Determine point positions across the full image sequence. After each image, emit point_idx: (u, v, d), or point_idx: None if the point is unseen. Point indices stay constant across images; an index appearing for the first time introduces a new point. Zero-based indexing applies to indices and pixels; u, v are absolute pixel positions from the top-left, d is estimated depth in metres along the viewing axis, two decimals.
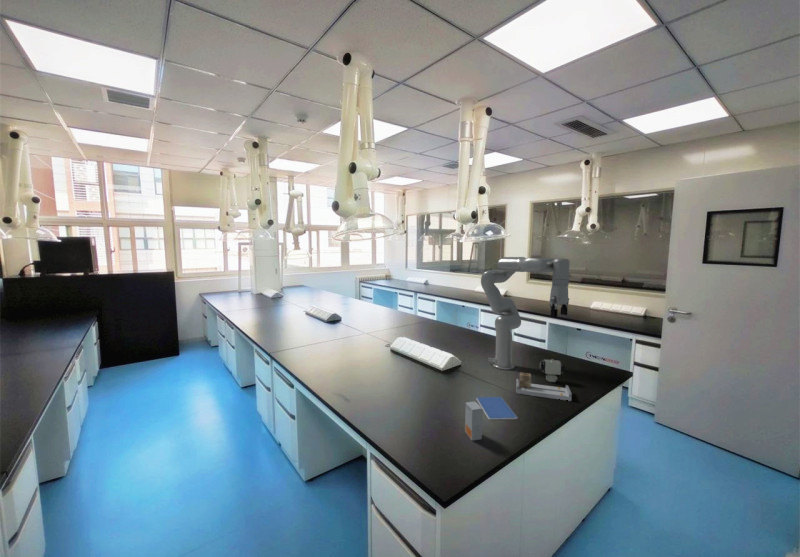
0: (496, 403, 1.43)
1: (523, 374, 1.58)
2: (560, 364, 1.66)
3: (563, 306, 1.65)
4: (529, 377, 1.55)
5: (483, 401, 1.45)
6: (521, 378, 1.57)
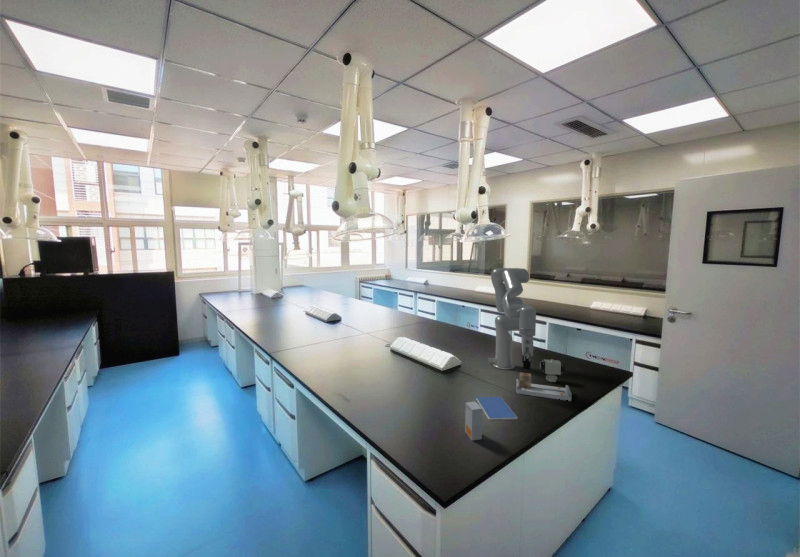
0: (496, 403, 1.43)
1: (523, 374, 1.58)
2: (560, 364, 1.66)
3: None
4: (529, 377, 1.55)
5: (483, 401, 1.45)
6: (521, 378, 1.57)
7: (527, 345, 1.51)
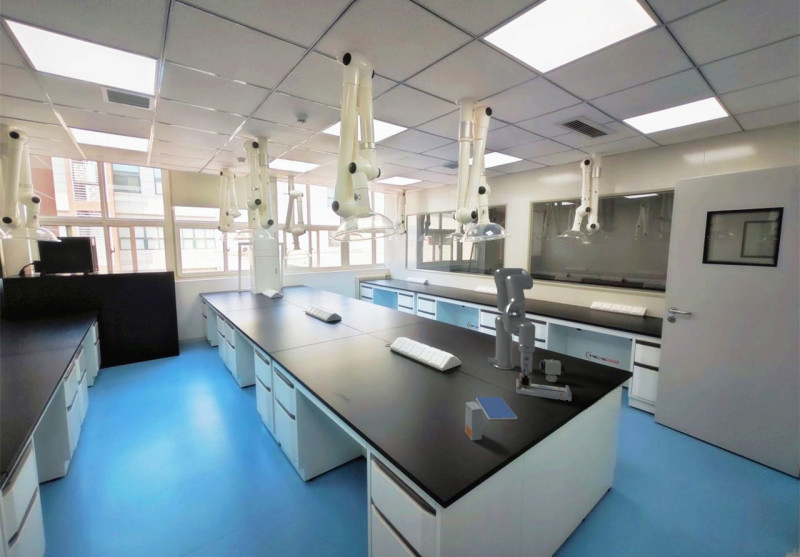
0: (496, 403, 1.43)
1: None
2: (560, 364, 1.66)
3: None
4: (529, 377, 1.55)
5: (483, 401, 1.45)
6: (521, 378, 1.57)
7: (526, 362, 1.52)
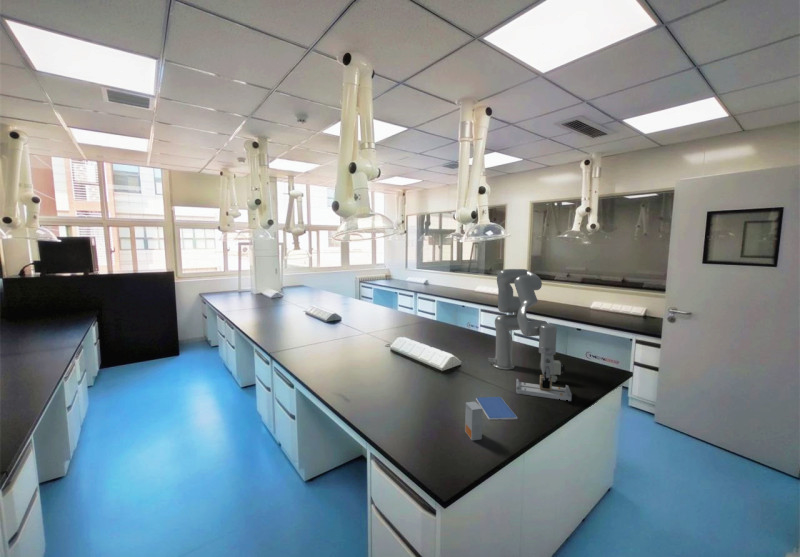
0: (496, 403, 1.43)
1: None
2: (560, 364, 1.66)
3: None
4: (550, 380, 1.52)
5: (483, 401, 1.45)
6: (542, 381, 1.54)
7: (547, 364, 1.49)
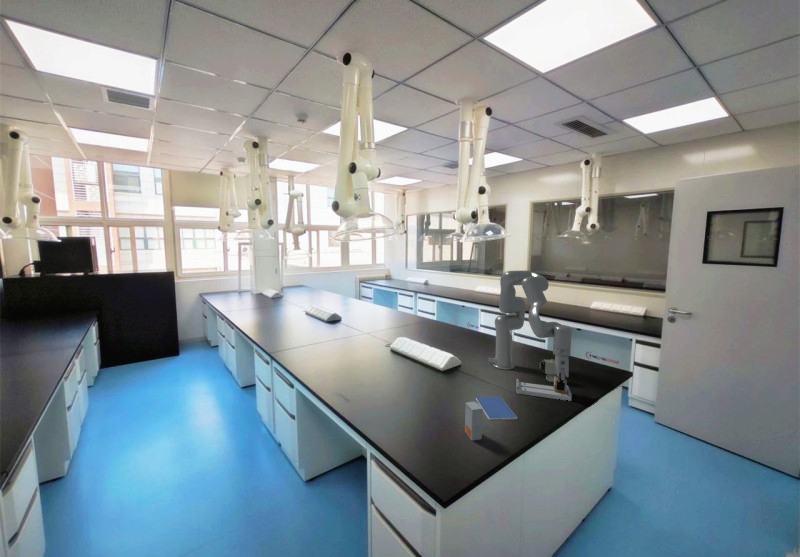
0: (496, 403, 1.43)
1: None
2: None
3: None
4: (565, 381, 1.50)
5: (483, 401, 1.45)
6: (556, 382, 1.51)
7: (562, 366, 1.47)
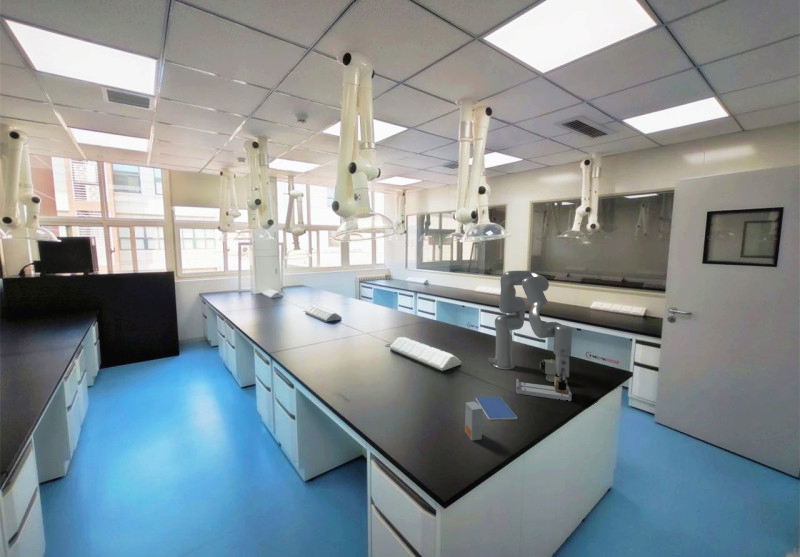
0: (495, 403, 1.43)
1: (558, 378, 1.52)
2: None
3: None
4: None
5: (482, 401, 1.45)
6: (557, 383, 1.51)
7: (563, 366, 1.47)
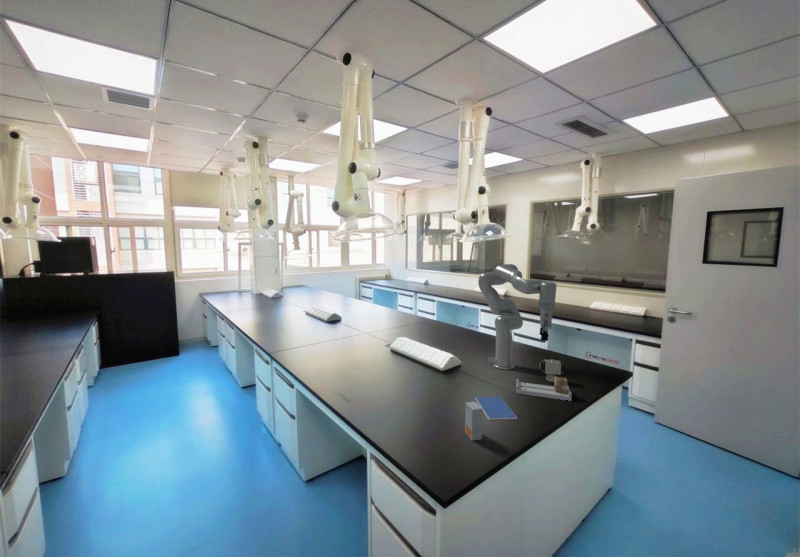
0: (495, 403, 1.43)
1: (558, 378, 1.52)
2: (560, 364, 1.66)
3: None
4: (565, 382, 1.50)
5: (482, 401, 1.45)
6: (557, 383, 1.51)
7: (546, 318, 1.59)
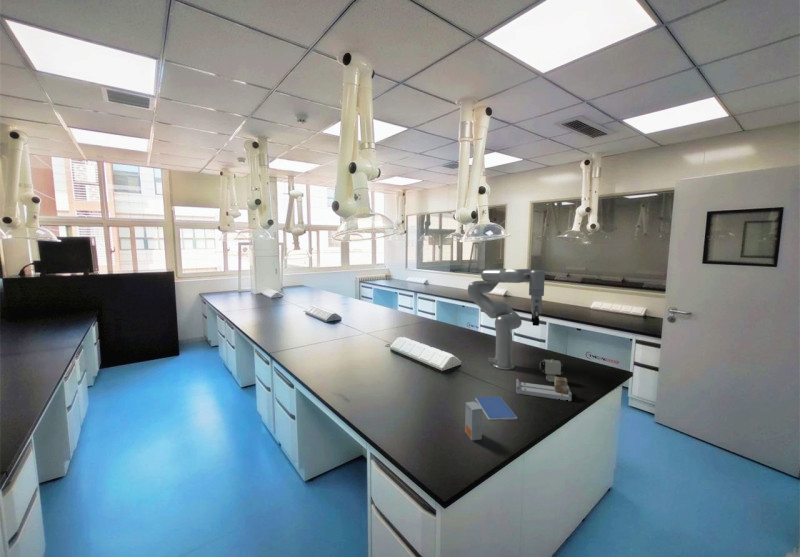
0: (495, 403, 1.43)
1: (558, 378, 1.52)
2: (560, 364, 1.66)
3: None
4: (565, 382, 1.50)
5: (482, 401, 1.45)
6: (557, 383, 1.51)
7: (536, 304, 1.67)
